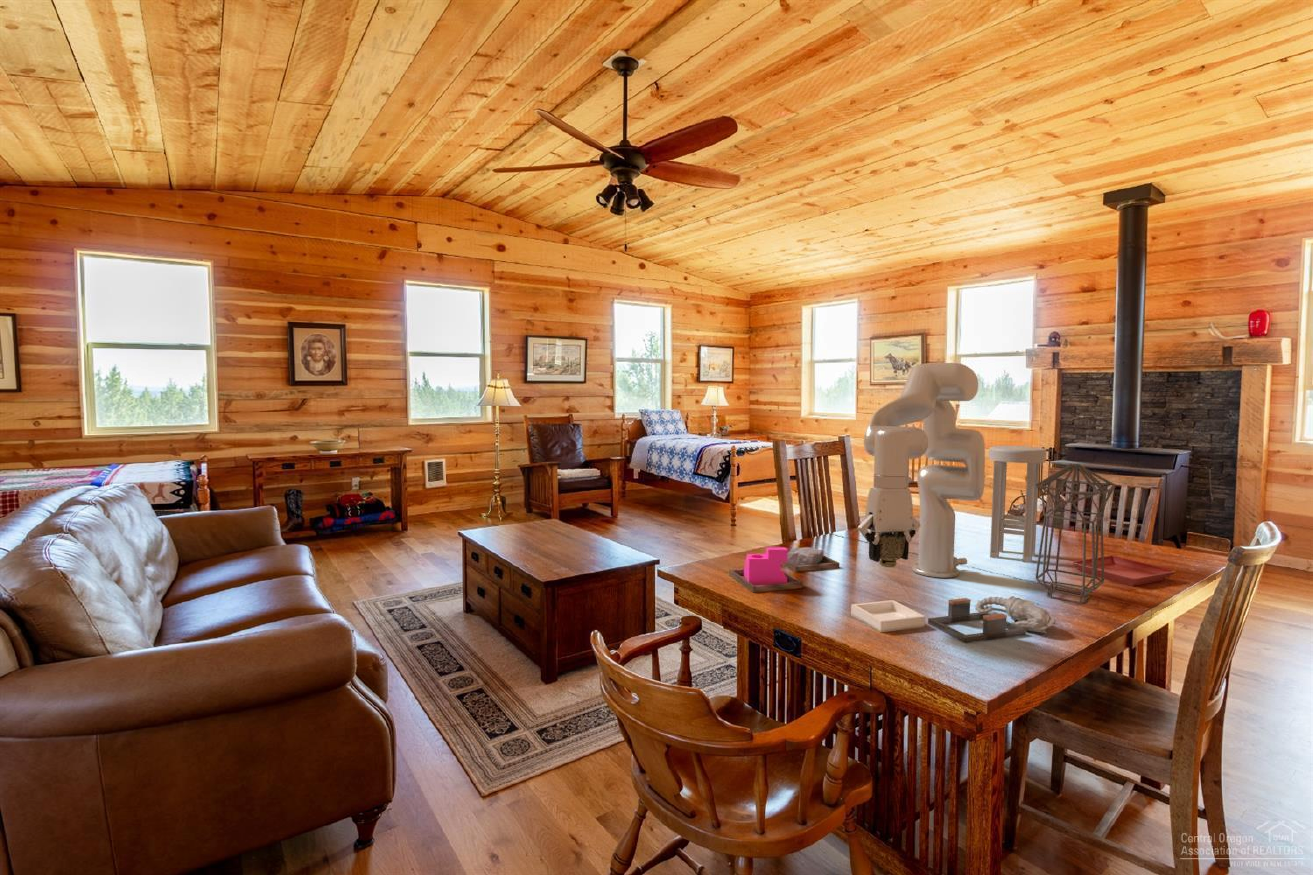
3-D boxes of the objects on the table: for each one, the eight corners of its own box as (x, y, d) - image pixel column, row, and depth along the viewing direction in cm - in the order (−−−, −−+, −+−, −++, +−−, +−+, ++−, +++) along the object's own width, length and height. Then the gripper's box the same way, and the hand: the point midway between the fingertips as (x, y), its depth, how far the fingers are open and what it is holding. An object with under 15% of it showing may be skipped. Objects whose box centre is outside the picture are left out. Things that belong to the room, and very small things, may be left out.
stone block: (782, 569, 197) (814, 568, 192) (780, 553, 198) (811, 551, 192) (796, 562, 207) (826, 560, 202) (793, 547, 208) (824, 545, 202)
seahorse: (958, 607, 157) (1039, 622, 139) (985, 584, 162) (1067, 596, 144) (965, 626, 157) (1046, 643, 140) (992, 603, 162) (1074, 616, 145)
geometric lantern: (1109, 597, 168) (1119, 463, 164) (1096, 613, 156) (1106, 470, 153) (1041, 583, 179) (1048, 457, 175) (1024, 597, 167) (1031, 464, 164)
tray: (892, 610, 158) (893, 599, 158) (924, 627, 147) (925, 616, 146) (851, 614, 155) (851, 604, 154) (880, 632, 143) (880, 621, 143)
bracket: (786, 587, 175) (787, 549, 174) (748, 586, 175) (749, 549, 174) (779, 574, 187) (779, 539, 186) (743, 573, 187) (744, 539, 186)
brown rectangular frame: (811, 554, 210) (811, 549, 210) (839, 567, 194) (839, 562, 194) (770, 557, 206) (770, 552, 206) (795, 571, 190) (795, 566, 190)
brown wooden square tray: (774, 570, 191) (774, 565, 191) (802, 587, 175) (802, 582, 175) (729, 574, 187) (729, 569, 187) (753, 592, 171) (753, 586, 171)
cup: (907, 571, 145) (908, 536, 144) (873, 569, 146) (874, 534, 146) (902, 562, 152) (903, 529, 152) (869, 561, 154) (870, 527, 153)
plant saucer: (1134, 589, 174) (1134, 577, 174) (1069, 572, 191) (1070, 561, 191) (1176, 582, 181) (1177, 570, 181) (1110, 565, 198) (1111, 555, 198)
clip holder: (984, 616, 153) (985, 595, 153) (1026, 634, 142) (1027, 612, 141) (927, 623, 149) (928, 602, 149) (965, 643, 137) (966, 620, 137)
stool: (989, 547, 218) (994, 444, 215) (1043, 554, 209) (1048, 447, 206) (981, 557, 206) (986, 448, 203) (1037, 565, 197) (1043, 451, 194)
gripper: (912, 479, 154) (909, 553, 155) (848, 481, 149) (846, 557, 150) (934, 483, 147) (931, 560, 148) (867, 486, 142) (865, 566, 143)
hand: (888, 558), depth 149 cm, fingers closed on cup, 6 cm apart
